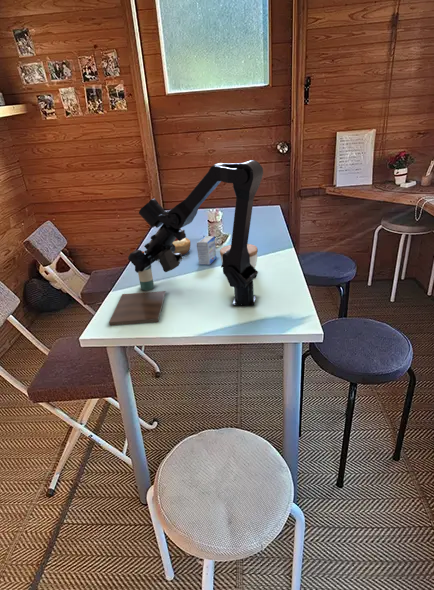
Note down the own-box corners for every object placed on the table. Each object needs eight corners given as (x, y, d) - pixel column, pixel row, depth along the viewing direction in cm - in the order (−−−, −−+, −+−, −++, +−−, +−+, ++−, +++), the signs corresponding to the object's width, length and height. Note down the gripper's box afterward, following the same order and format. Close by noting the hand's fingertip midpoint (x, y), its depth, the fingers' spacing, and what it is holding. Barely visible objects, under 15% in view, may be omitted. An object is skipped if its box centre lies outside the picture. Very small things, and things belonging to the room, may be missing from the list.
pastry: (157, 257, 174) (153, 235, 170) (169, 247, 184) (166, 226, 179) (184, 258, 170) (181, 235, 166) (195, 248, 180) (193, 227, 176)
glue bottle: (151, 290, 144) (146, 254, 138) (139, 290, 145) (132, 254, 139) (155, 285, 148) (150, 249, 142) (143, 285, 149) (137, 249, 143)
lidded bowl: (249, 265, 157) (247, 235, 152) (264, 276, 147) (263, 244, 141) (216, 272, 154) (214, 242, 148) (230, 284, 143) (227, 252, 138)
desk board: (158, 322, 123) (157, 318, 123) (109, 325, 124) (108, 322, 123) (165, 293, 141) (165, 290, 140) (122, 296, 141) (122, 294, 141)
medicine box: (209, 265, 161) (207, 242, 157) (198, 264, 162) (196, 242, 158) (216, 258, 167) (214, 236, 163) (205, 257, 169) (203, 235, 165)
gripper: (165, 268, 127) (141, 298, 137) (197, 248, 141) (172, 276, 151) (139, 239, 126) (116, 272, 137) (173, 222, 141) (150, 253, 151)
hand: (141, 268), depth 144 cm, fingers open, 5 cm apart
